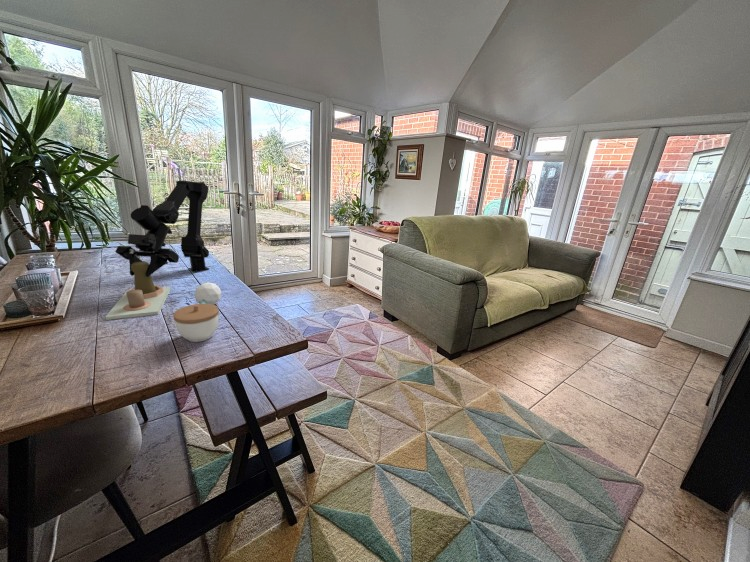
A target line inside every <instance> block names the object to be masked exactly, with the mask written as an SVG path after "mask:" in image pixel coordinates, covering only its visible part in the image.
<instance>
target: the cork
mask: <svg viewBox="0 0 750 562" xmlns="http://www.w3.org/2000/svg"><path fill="white" fill-rule="evenodd" d="M149 264H150V263H148V261H143V262H135V263H133V264H132V265H131V270H132V271H133V272H134V275H133V278H134V279H133V280H134V288H135V290H142V292H143V294H148V293H152V292H155V291H156V289H155V286H154V285H155V283H154V281H153V279H152V276H151V275H150V276H149V277H147V276H146V271H147V269H148V266H149Z"/></svg>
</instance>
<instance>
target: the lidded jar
mask: <svg viewBox="0 0 750 562" xmlns="http://www.w3.org/2000/svg"><path fill="white" fill-rule="evenodd" d="M219 312H220V309H219V307H218V306H217V305H216V304H214V305H213V304H199V303H195V304H190V305H187V306H183V307H180V308H178V309H177V310H175V311H174V312H173V314H172V317H173V318H172V319H173V320H174V325H175V328H176V331H177V333H178V334H179V335H180V336H181V337H182V338H184V339H185V340H188V341H189V342H192V343H199V342H203V341H207V340H210V338H212V337H213V335H214V334H215V332H216V331H217V330H218V328H219V324H220V313H219Z"/></svg>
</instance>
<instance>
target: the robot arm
mask: <svg viewBox="0 0 750 562" xmlns="http://www.w3.org/2000/svg"><path fill="white" fill-rule="evenodd" d="M208 193H209V186H208V185H207V184H206V183H205V182H204V181H203V182H202V181H201V182H200V181H190V180H177V181H176V183H175V186H174V188H173V189H172V191H171V192H170V194H169V195H168V196H167V198H166V199H165V201H163V202H161V203H159V204H157V205H156V206H155V207H154V208H153V209H151V208H150V206H149V205H147V204H141V205H140V207H137V208H136V209H134V210H133V211H131V213H130V218H131V219H132V220H133V221H134V222H135V223H136V224H137V225H138V226H140V227H141V228H142V229H143V230H146V231H147V232H146V233H145V234H135V233H132V234H131V233H129V234H128V238H127V244H129V245H133V246H135V248H136V249H135V248H133V247H132V246H129V245H128V246H127V245H118V246H117V247H116V249H115V251H114V252H115V253H116V254H118V255H119V256H121V257H122V258H123V259H125V260H127V261H129V275H130V276H131V277H134V272H133V271H132V270H131V265H132V264H133V263H135V262H144V261H143V260H142V259H141V257H146V258H147V257H149V258H150V262H149V263H148V264H149V266H148V269H147V271H146V276H147V277H149V276H151V275H153V274H154V273H155V272H157V271H158V270H159V269H160V268H161V267H164V266H165V265H168V264H169V263H174V264H176V263H179V260H180V256H179V254H178V253H177V252H176V251H174V250H173V249H172V248H165V247H166V243H165V241H166V238H167V236H168V235H172V234H173V231H172V229H171V227H170V226H167V225H175V224H176V223H177V221H178V219H179V216H180V212H179V209H180V207H181V206H182V204H183V203H184V201H185V200H186V198H187V199H188V201H189V204H188V217H187V218H188V219H187V233H186V234H185V236H182V237H181V239H180V240H181V242H180V243H181V244H180V249H181V251H182V252H181V253H182V254H183V256H184V258H189V262H190V267H188V270H190V271H192V272H193V273H197V272H203V271H207V270H210V268H209V267H207V266H206V260H205V258H208V257H209V256H210V250H209V249H208V248H207V247H206V246H205V241H204V239H203V237H202V236H201V232H202V231H201V230H202V229H201V228H202V227H201V226H202V218H203V216H202V213H203V205H204V204H203V203H204V202H205V201H206V200H207V198H208ZM163 247H164V248H163ZM138 249H139V250H138Z"/></svg>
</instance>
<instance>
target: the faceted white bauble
mask: <svg viewBox="0 0 750 562" xmlns="http://www.w3.org/2000/svg"><path fill="white" fill-rule="evenodd" d="M221 297H222V291H221V288H220V287H219V286H218V285H217V284H216V283H214V282H213V283H212V282H208V281H207V282H203V283H202V284H199V285H198V286H197V287H196V288H195V290H194V298H195V299H194V300H195V302H197V304H213V305H216V304H218V302H219V301H220V300H221Z"/></svg>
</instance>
